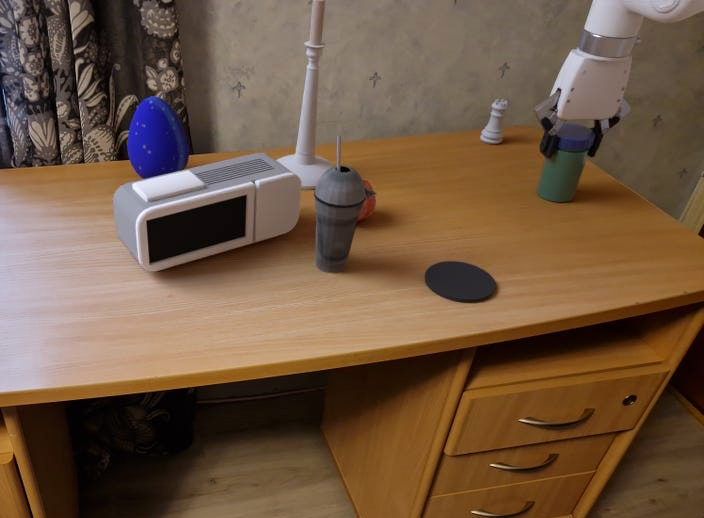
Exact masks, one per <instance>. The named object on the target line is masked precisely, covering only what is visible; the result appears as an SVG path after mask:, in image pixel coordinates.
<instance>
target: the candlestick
mask: <svg viewBox="0 0 704 518" xmlns="http://www.w3.org/2000/svg"><path fill="white" fill-rule="evenodd" d="M311 5H312V6H311V18H310V27H309V29H310V30H309V40H308V41H304V42H303V44H304V46H305V47H306V52H305V54H306V56H307V57H308V64H307V65H306V73H305V74H306V75H305V79H304V80H305V81H304V88H303V96H302V103H301V111H300V118H299V124H298V132H297V134H298V135H297V139H296V140H297V141H296V147H295V153H294V154H288V155H284V156H282V157H280V158H278V159H275V160H276V161H277V162H279V163H280V164H282V165H283V166H284V167H286V168H287V169H289V170H290V171H292V172H293V173H294V174H296V175H297V176H299V178H300V179H301V184H302V188H301V190H307V191H308V190H309V191H311V190H315V189H316V185H317V183H318V181H319V179H320V178H321V176H322V175H323V174H324V173H325V172H326V171H327V170H329V169H330V168H332V167H335V166H336V165H334V164H333V162H331V161H330V160H328V159H326V158H325V157H322V156H319V155H316V139H317V138H316V136H317V135H316V134H317V116H318V115H317V114H318V95H319V74H320V66H319V61H320V58H321V57H322V56H323V49H324V47H326V46H327V42H324V41H322V40H323V31H324V19H325V10H326V9H325V8H326V0H312V4H311Z"/></svg>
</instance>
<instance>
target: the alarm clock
mask: <svg viewBox="0 0 704 518" xmlns="http://www.w3.org/2000/svg"><path fill="white" fill-rule="evenodd" d="M276 160H277V159H274V158H273V157H272V156H271V155H269V154H267V153H266V152H264V151H263V152H254V153H251V154H246V155H242V156H241V155H240V156H238V157H233V158H229V159H225V160H220V161H216V162H211V163H208V164H203V165H199V166H195V167H190V168H185V169H184V170H181V171H177V172H173V173H168V174H164V175H160V176H156V177H151V178H147V179H143V178H142V179H139V180H135V181H129V182H126V183H124V184H122V185H120V186H119V187H118V188H117V189H116V190H115V192H114V194H113V195H112V196H113V198H112V205H113V215H114V224H115V232H116V236H117V239H118V240H119V241H120V242H121V244H122V245H123V246H124V247H125V248H126V250H127V251H128V252H129V253H130V254H131V256H132V257H133V258H134V259H135V260H136V261H137V262H138V264H139V265H140V267H142V268H143V269H144V270H145V271H148V272H158V271H162V270H167V269H169V268H172V267H177V266H180V265H183V264H186V263H190V262H194V261H196V260H200V259H203V258H207V257H210V256H211V257H212V256H214V255H217V254H221V253H225V252H227V251H231V250H234V249H235V250H236V249H237V248H242V247H245V246H248V245H252V244H255V243H258V242H262V241H265V240H269V239H272V238H276V237H279V236H281V235H284V234H286V233H288V232H291V231H292V230H293V229H294V228H295V227H296V225H297V223H298V221H299V218H300V208H301V199H302V189H301V188H302V184H301V179H300V178H299V176H297V175H296V174H294V173H293V172H292V171H290V170H289V169H287V168H286V167H284V166H283V165H282V164H280V163H279V162H277V161H276Z"/></svg>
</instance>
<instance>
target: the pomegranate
mask: <svg viewBox="0 0 704 518" xmlns="http://www.w3.org/2000/svg"><path fill="white" fill-rule="evenodd" d="M363 182H364V186H365V198H366V199H365V201H364V203H363V206H362V209H361V211H360V213H359V217H358V221H357V222H360V221H362V220H365V219H367V218H369V217H370V216H371V215H372V214H373V212H374V211H375V210H376V207H377V198H376V195H378V193H377V192H376V191H374V189H373V186H372V185H371V183H370V182H369V180H367V179H363Z"/></svg>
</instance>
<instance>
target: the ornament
mask: <svg viewBox="0 0 704 518" xmlns="http://www.w3.org/2000/svg"><path fill="white" fill-rule="evenodd" d="M126 147H127V154H128V159H129V163H130V164H131V166H132V168H133V170H134V171H135V173H136V174H137V175H138V176H139V177H140V178H141V179H142V180H143V179H147V178H151V177H156V176H160V175H164V174H168V173H173V172H177V171H181V170H185V169H186V167H187V165H188V163H189V158H190V148H189V143H188V139H187V136H186V133H185V130H184V128H183V125H182V122H181V121H180V119H179V117H178V115H177V114H176V112H175V111H174V109H173V108H172V107H171V106H170V105H169V103H168V102H167V101H166V100H164V99H163V98H161V97H159V96H156V95H154V96H153V95H151V96H149V97H147V98H144V100H142V101H141V102H140V103H139V104H138V106H137V108H136V110H135V111H134V114H133V116H132V119H131V122H130V125H129V130H128V134H127V145H126Z"/></svg>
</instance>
